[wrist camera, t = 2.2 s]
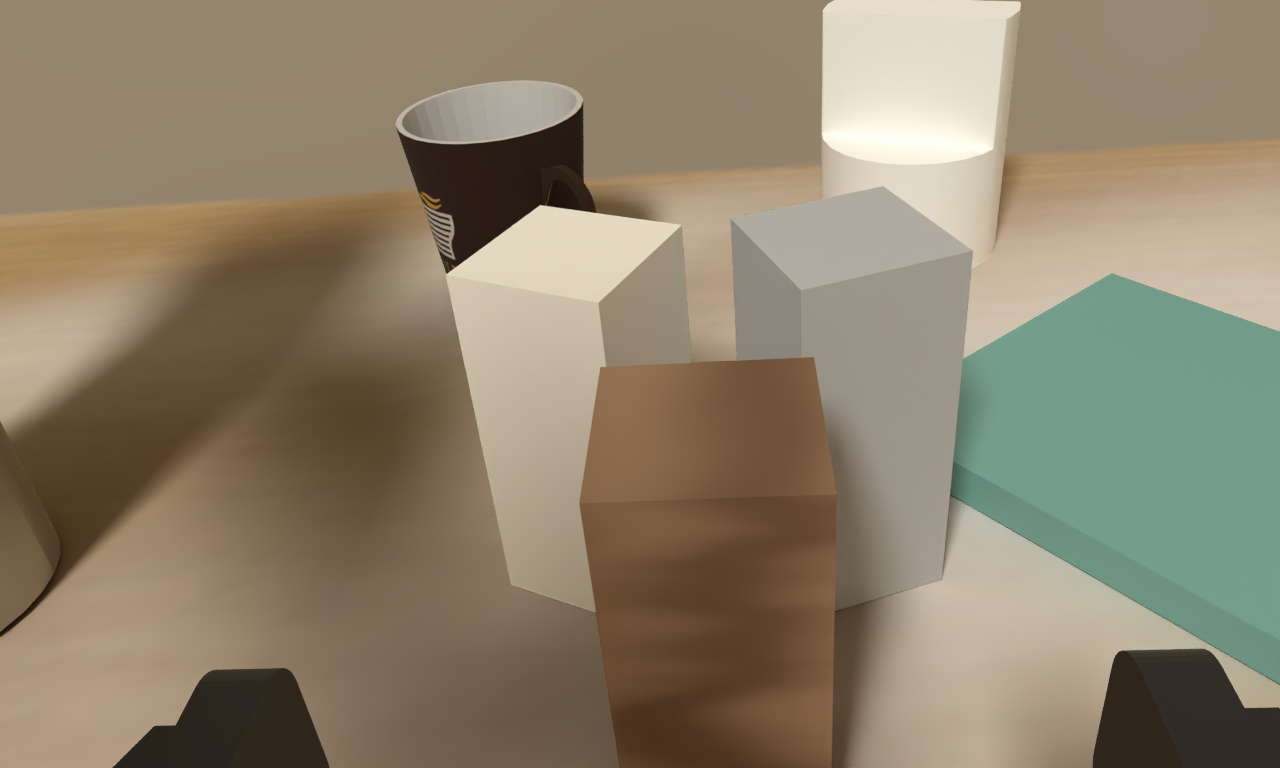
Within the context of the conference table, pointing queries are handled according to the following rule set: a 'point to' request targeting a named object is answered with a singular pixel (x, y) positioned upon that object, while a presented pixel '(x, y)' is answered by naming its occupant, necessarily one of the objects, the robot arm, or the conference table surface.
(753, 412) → the walnut brick
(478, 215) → the coffee mug
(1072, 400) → the teal board
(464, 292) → the off-white brick
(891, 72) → the base with upright slab
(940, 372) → the grey brick
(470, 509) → the conference table surface
